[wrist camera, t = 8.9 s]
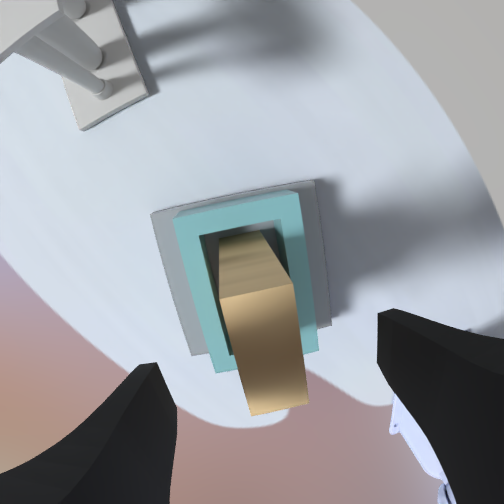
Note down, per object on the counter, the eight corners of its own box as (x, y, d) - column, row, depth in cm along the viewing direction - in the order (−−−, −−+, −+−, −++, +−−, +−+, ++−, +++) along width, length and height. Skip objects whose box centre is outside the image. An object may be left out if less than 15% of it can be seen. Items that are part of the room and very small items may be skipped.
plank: (274, 311, 18) (308, 403, 10) (237, 319, 18) (251, 416, 10) (259, 229, 17) (292, 283, 9) (219, 238, 17) (219, 299, 9)
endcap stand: (328, 319, 20) (345, 345, 16) (192, 349, 19) (188, 380, 16) (310, 180, 17) (329, 183, 14) (153, 212, 17) (138, 222, 14)
